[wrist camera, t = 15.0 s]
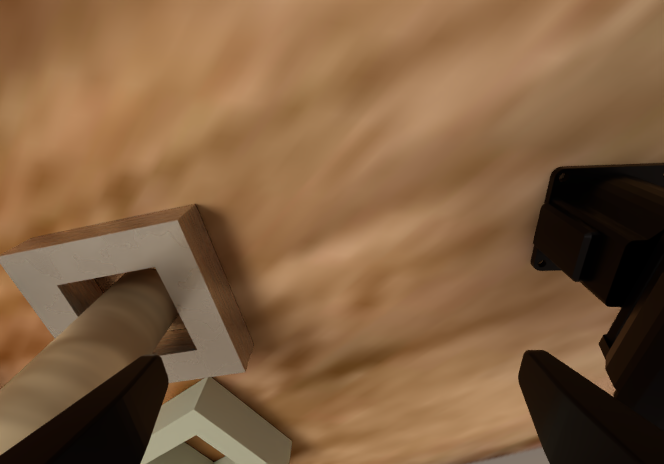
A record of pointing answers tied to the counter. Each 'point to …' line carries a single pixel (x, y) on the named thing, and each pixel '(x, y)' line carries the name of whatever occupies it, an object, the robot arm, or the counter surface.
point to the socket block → (135, 254)
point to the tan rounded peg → (87, 353)
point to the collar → (214, 430)
